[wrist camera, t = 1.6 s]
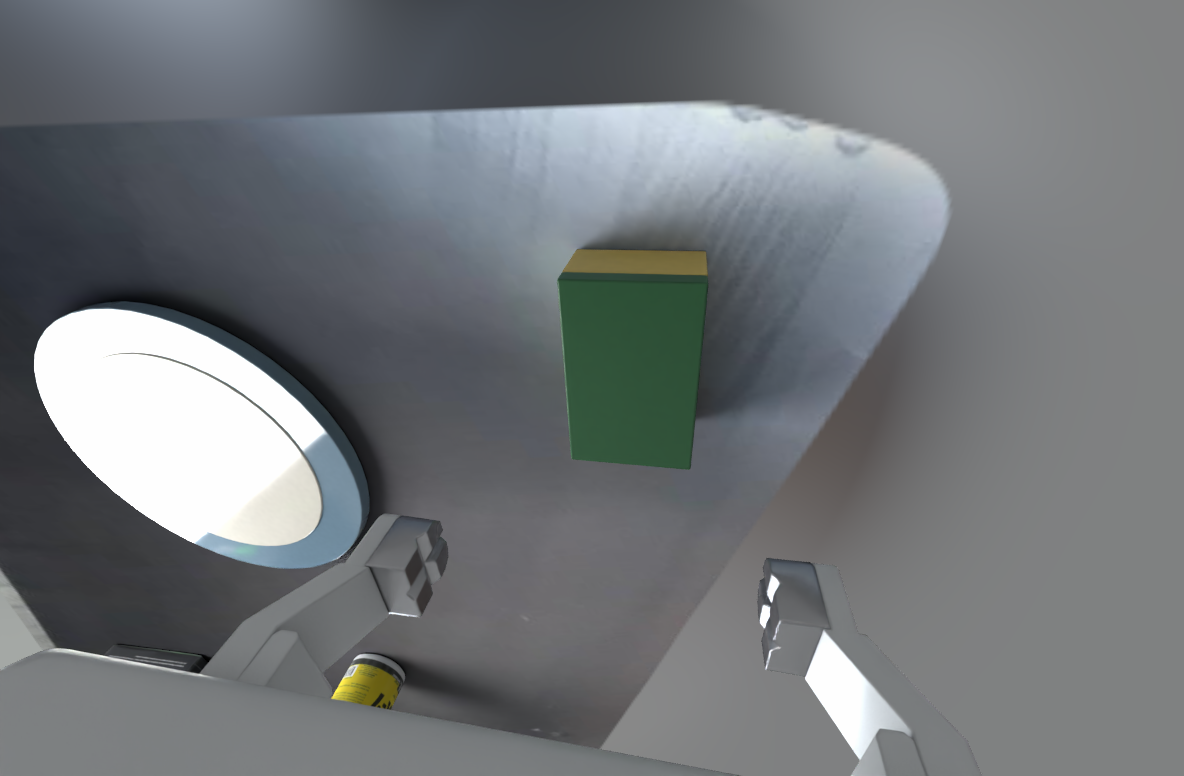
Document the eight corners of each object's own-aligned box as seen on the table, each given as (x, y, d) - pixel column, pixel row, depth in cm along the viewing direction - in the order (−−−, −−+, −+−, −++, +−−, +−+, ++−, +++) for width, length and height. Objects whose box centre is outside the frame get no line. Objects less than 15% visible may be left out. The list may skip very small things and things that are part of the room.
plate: (-27, 294, 26) (-50, 302, 25) (300, 307, 23) (286, 316, 22) (164, 541, 37) (152, 552, 36) (404, 574, 34) (397, 586, 33)
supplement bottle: (411, 685, 43) (358, 802, 36) (363, 676, 44) (301, 789, 37) (400, 656, 41) (339, 777, 34) (348, 647, 41) (279, 763, 34)
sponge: (576, 249, 19) (556, 279, 16) (706, 250, 18) (708, 283, 15) (585, 413, 23) (570, 460, 21) (690, 421, 23) (690, 470, 20)
